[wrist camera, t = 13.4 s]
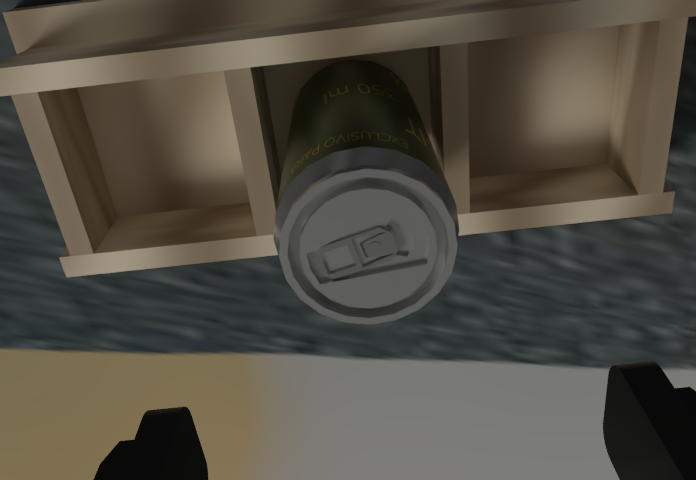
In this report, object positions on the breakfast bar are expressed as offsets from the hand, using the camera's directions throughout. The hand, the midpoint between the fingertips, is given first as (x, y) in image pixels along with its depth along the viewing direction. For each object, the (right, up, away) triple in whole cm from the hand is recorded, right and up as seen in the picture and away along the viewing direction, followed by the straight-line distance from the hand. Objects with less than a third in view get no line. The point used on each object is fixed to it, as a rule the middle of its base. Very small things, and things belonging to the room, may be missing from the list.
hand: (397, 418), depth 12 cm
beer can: (-1, +9, +16) cm, 18 cm away
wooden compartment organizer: (-1, +9, +17) cm, 19 cm away
